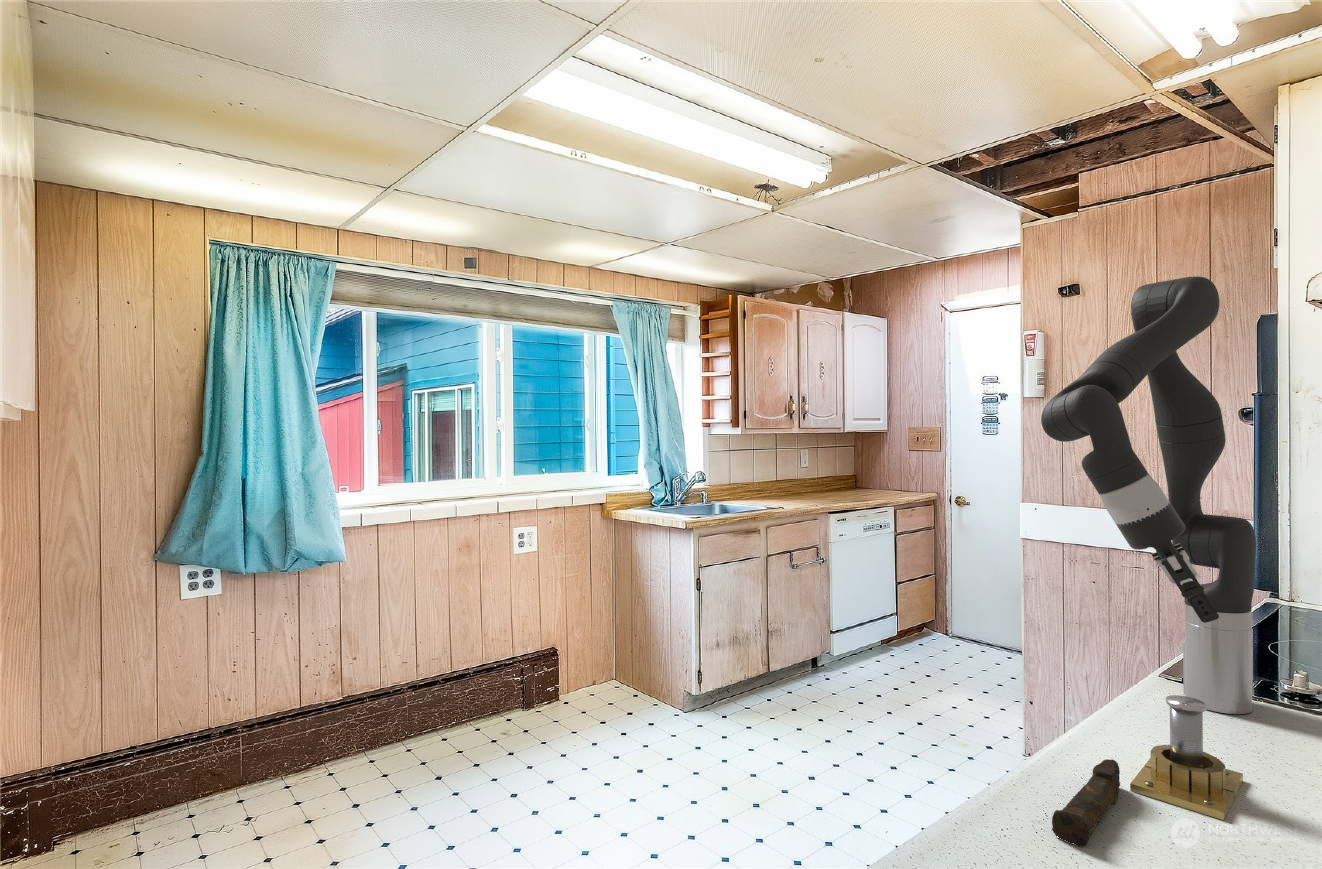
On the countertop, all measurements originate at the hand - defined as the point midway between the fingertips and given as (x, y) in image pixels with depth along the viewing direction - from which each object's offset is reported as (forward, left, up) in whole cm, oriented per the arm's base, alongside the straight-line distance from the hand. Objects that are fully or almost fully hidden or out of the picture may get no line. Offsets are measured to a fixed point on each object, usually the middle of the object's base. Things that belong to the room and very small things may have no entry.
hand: (1205, 610), depth 100 cm
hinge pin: (+6, -6, -22) cm, 23 cm away
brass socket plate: (+6, -6, -23) cm, 24 cm away
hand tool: (+14, -22, -23) cm, 35 cm away
